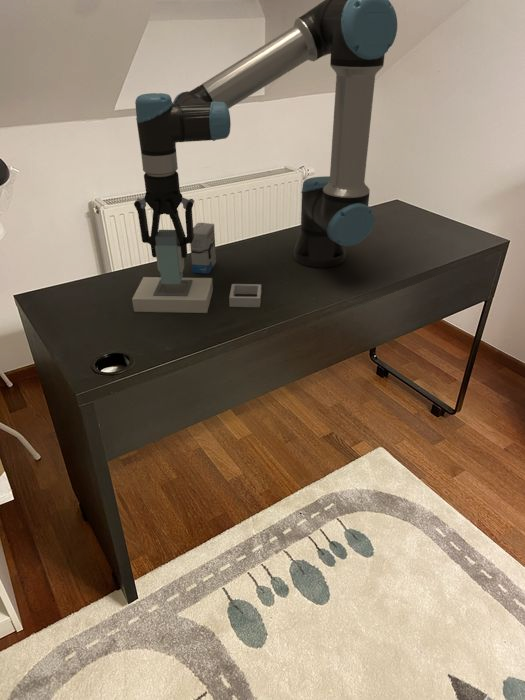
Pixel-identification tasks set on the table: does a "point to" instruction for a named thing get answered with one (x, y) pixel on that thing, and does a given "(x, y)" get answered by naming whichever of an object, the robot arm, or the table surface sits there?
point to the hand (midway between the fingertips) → (171, 268)
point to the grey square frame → (245, 301)
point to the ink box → (203, 248)
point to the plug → (168, 256)
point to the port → (173, 295)
